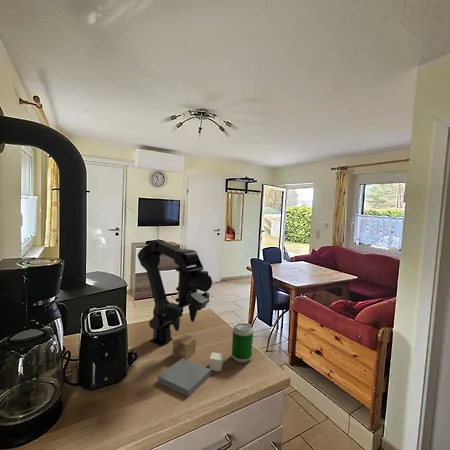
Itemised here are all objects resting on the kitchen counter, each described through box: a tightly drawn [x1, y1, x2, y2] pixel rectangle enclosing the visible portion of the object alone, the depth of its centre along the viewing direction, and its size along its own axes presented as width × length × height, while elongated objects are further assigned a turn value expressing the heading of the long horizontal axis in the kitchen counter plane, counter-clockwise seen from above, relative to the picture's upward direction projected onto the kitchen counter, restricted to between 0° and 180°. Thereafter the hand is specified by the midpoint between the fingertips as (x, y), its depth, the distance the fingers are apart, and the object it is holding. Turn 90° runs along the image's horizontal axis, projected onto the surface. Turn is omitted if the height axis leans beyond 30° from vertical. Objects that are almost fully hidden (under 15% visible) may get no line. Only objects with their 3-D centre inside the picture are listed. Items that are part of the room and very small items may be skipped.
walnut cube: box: [172, 333, 197, 361], centre depth 100 cm, size 6×6×6 cm
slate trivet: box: [157, 358, 212, 398], centre depth 86 cm, size 12×12×2 cm
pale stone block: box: [208, 352, 224, 372], centre depth 93 cm, size 4×4×4 cm
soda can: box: [231, 322, 254, 363], centre depth 99 cm, size 8×8×12 cm
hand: (185, 326), depth 100 cm, fingers open, 9 cm apart
